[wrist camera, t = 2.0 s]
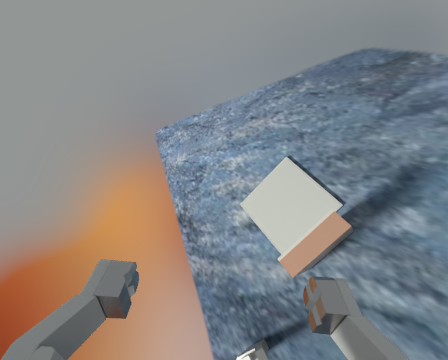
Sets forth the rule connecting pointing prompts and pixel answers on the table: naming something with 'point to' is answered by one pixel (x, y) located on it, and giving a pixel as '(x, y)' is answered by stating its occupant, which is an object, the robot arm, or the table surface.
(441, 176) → the table surface
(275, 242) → the mat
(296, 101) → the table surface
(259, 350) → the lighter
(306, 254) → the tile
